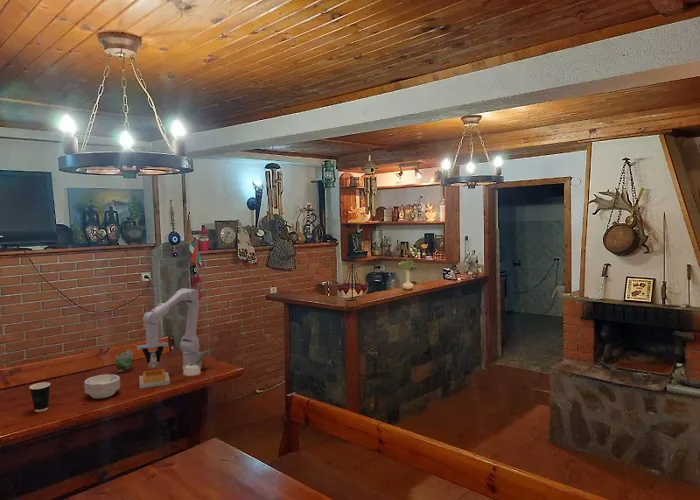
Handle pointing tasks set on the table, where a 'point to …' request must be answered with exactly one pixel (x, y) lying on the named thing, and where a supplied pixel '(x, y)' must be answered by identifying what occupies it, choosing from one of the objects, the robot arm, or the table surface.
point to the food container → (124, 361)
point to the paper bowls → (102, 385)
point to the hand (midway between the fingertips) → (153, 362)
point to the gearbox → (154, 378)
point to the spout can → (153, 359)
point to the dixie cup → (40, 396)
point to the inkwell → (194, 365)
